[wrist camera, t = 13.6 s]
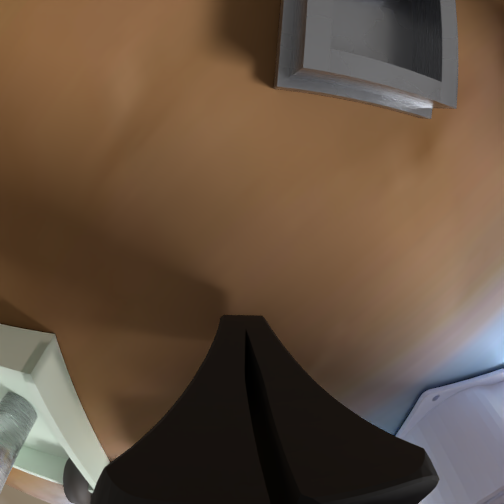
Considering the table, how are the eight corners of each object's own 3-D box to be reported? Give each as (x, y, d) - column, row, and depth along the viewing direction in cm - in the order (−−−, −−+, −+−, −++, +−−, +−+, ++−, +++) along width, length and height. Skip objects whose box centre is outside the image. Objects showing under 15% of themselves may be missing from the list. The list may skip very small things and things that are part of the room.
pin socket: (423, -7, 7) (458, -23, 5) (421, 118, 9) (462, 121, 7) (284, -47, 6) (299, -82, 4) (273, 88, 8) (288, 78, 6)
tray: (55, 334, 11) (30, 374, 8) (111, 464, 15) (105, 496, 13) (-55, 310, 10) (-80, 336, 8) (14, 437, 14) (3, 462, 12)
